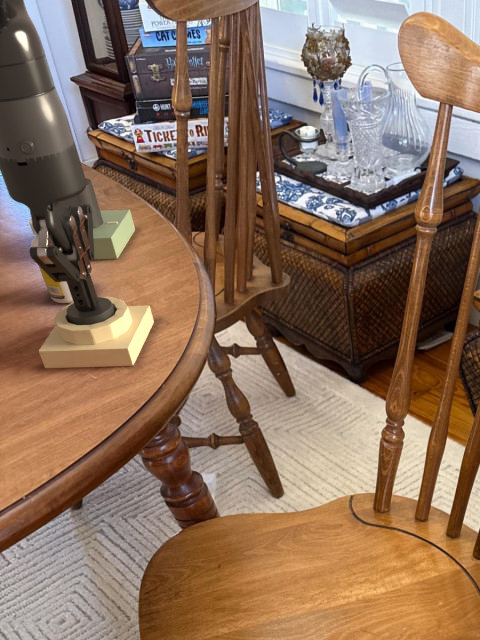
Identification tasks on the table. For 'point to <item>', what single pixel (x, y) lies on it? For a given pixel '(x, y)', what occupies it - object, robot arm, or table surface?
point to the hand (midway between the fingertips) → (88, 308)
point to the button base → (98, 339)
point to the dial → (91, 203)
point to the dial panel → (112, 234)
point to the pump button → (91, 313)
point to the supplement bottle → (55, 289)
